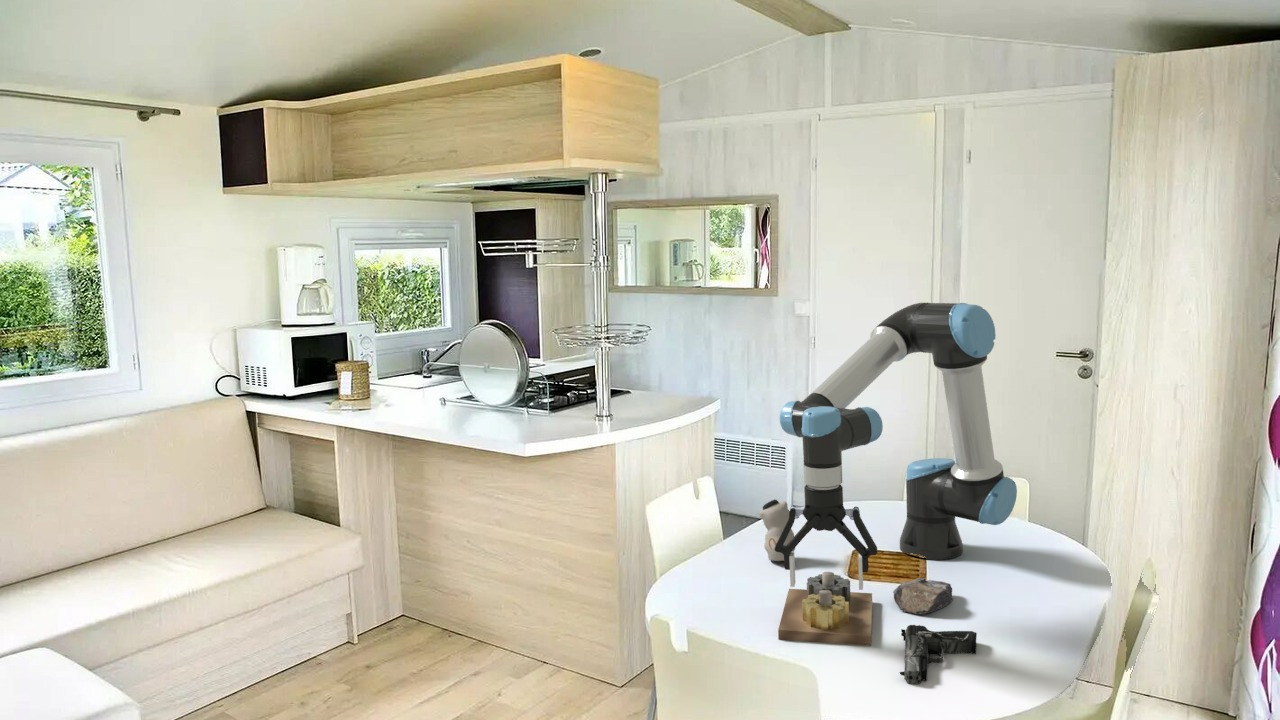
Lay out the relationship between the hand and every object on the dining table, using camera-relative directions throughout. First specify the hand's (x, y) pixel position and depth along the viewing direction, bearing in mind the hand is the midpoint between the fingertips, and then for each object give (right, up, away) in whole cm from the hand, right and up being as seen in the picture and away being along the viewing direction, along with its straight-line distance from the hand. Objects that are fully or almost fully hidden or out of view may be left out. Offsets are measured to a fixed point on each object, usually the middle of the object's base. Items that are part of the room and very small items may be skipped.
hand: (826, 585), depth 184 cm
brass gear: (0, -7, +1) cm, 7 cm away
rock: (+23, -7, +12) cm, 27 cm away
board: (+1, -9, +6) cm, 10 cm away
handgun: (+18, -11, -15) cm, 26 cm away
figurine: (-4, -4, +42) cm, 42 cm away
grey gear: (+3, -6, +11) cm, 12 cm away
